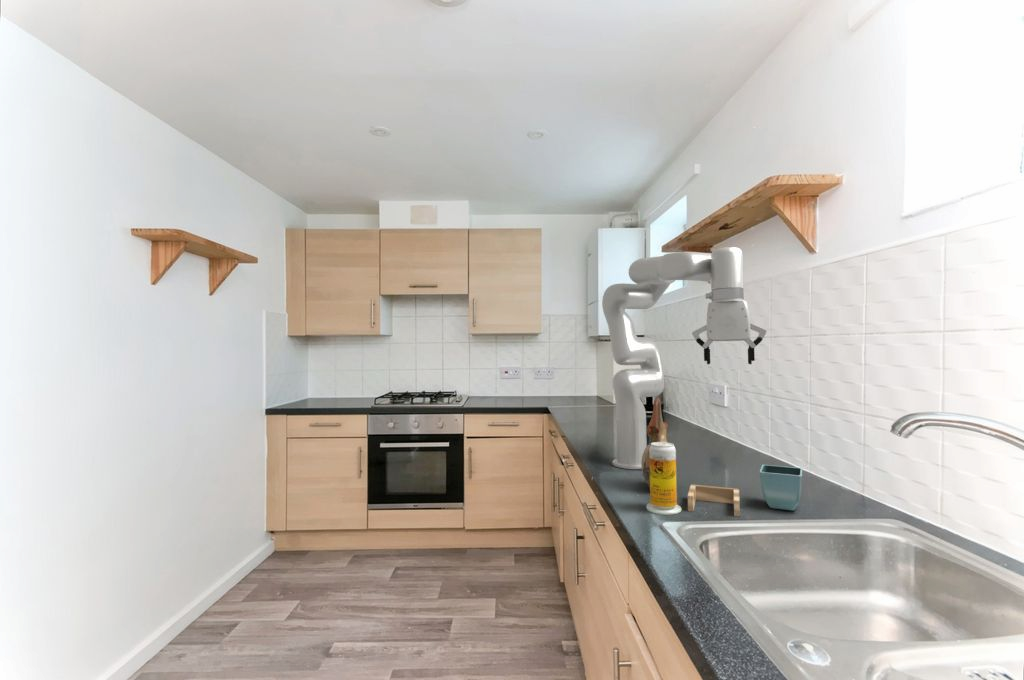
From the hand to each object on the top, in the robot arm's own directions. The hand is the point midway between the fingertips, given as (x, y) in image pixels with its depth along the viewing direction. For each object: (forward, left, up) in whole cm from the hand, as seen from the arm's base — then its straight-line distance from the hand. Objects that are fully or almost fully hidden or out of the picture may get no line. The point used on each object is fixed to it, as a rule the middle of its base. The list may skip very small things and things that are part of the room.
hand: (728, 364), depth 126 cm
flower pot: (+2, +11, -34) cm, 36 cm away
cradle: (+8, -4, -34) cm, 35 cm away
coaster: (+14, -15, -34) cm, 40 cm away
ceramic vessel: (-3, -18, -34) cm, 39 cm away
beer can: (+14, -15, -34) cm, 40 cm away
